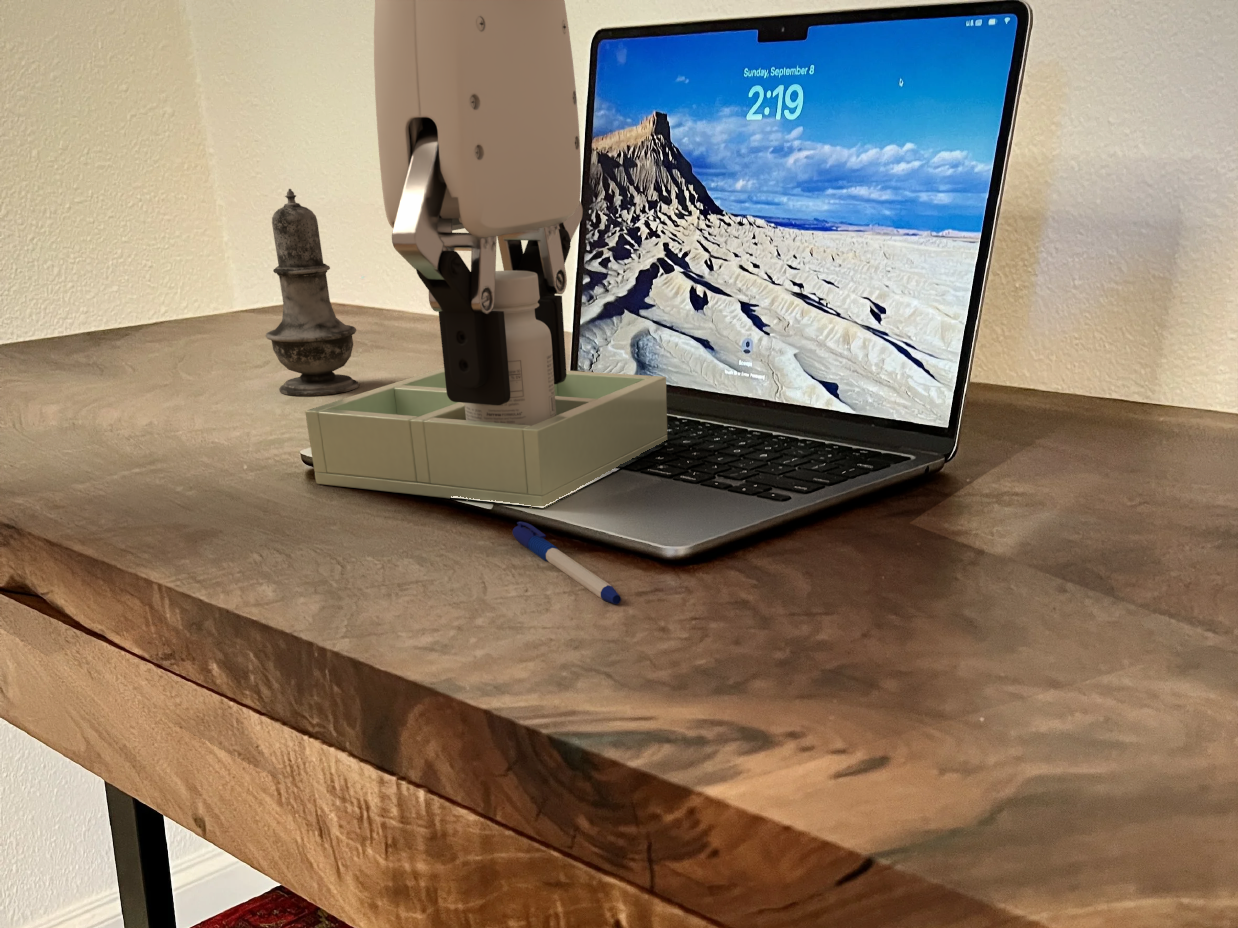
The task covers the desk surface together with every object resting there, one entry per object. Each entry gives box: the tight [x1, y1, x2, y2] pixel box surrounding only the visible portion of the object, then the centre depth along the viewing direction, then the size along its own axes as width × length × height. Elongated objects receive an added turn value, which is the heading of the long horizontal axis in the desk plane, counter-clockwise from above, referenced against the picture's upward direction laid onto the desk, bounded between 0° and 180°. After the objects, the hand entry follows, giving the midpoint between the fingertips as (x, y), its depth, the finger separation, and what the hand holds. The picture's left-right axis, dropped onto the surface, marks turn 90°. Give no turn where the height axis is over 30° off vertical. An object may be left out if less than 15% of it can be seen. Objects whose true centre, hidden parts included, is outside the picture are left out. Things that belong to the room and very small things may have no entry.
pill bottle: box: [464, 270, 556, 426], centre depth 64 cm, size 4×4×8 cm
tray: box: [304, 366, 669, 506], centre depth 69 cm, size 13×13×4 cm
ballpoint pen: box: [512, 521, 622, 605], centre depth 55 cm, size 10×1×1 cm, turn 28°
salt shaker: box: [265, 188, 360, 397], centre depth 87 cm, size 6×6×12 cm
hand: (508, 387), depth 64 cm, fingers closed on pill bottle, 4 cm apart
